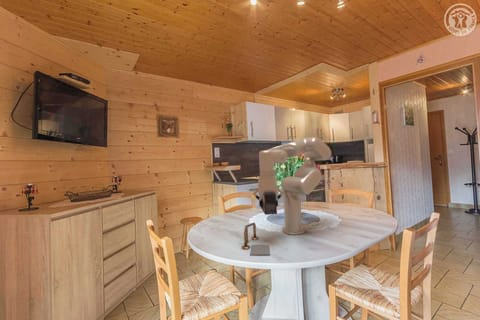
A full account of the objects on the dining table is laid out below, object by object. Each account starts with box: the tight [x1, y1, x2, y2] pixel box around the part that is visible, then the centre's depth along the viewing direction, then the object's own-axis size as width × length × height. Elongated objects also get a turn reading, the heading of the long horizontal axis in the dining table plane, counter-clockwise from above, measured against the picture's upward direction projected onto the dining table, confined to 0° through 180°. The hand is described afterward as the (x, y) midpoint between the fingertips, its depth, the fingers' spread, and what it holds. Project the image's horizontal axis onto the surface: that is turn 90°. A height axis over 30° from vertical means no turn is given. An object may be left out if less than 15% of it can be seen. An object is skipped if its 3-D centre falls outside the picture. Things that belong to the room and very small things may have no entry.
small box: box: [261, 193, 278, 216], centre depth 119 cm, size 11×6×10 cm, turn 4°
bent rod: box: [241, 222, 260, 251], centre depth 118 cm, size 5×17×9 cm, turn 156°
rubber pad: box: [249, 244, 271, 257], centre depth 108 cm, size 9×11×1 cm
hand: (268, 207), depth 120 cm, fingers closed on small box, 6 cm apart
